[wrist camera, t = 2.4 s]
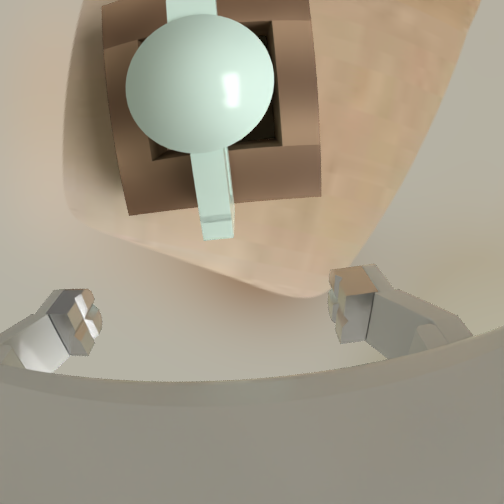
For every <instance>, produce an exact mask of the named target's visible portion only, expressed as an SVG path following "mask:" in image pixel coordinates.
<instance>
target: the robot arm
mask: <svg viewBox="0 0 504 504" xmlns="http://www.w3.org/2000/svg"><path fill="white" fill-rule="evenodd" d="M329 283H330V285H331V288H332V289H331V290H330V291H329V293H328V310H329V314H330V318H331V320H332V321H333V322H334V323H336V325H335V331H336V334H337V336H338V339H339V342H340V344H343V343H351V342H359V341H366V342H367V343H368V344H369V345H371V346H372V347H373V348H375V349H376V350H377V351H379V352H380V353H381V354H382V355H384V356H385V357H386V358H388V359H387V360H383V361H378V362H373V363H367V364H362V365H358V366H352V367H346V368H340V369H334V370H327V371H320V372H314V373H305V374H297V375H289V376H279V377H269V378H257V379H243V380H227V381H226V380H225V381H201V382H200V381H199V382H197V381H196V382H156V381H129V380H112V379H99V378H89V377H79V376H69V375H62V374H55V373H53V372H54V371H55V370H56V369H57V368H58V367H59V366H60V365H61V364H62V363H63V362H64V361H65V360H67V359H68V358H69V357H70V355H75V356H76V355H77V356H89V354H90V352H91V349H92V348H93V346H94V343H95V342H94V338H95V337H97V336H98V335H99V334H100V331H101V329H102V317H101V313H100V311H99V309H98V308H97V307H96V306H95V305H94V304H93V303H94V296H93V294H92V292H91V291H90V290H89V289H59V290H54V291H53V292H52V293H51V294H50V296H49V297H48V298H47V299H46V301H45V302H44V303H43V304H42V306H41V307H40V308H39V309H38V311H37V312H36V313H35V314H31V315H30V316H28V317H27V318H25V319H23V320H22V321H20V322H18V323H17V324H15V325H13V326H12V327H10V328H9V329H7V330H6V331H4V332H2V333H1V334H0V504H504V326H502V327H499V328H496V329H493V330H491V331H488V332H485V333H482V334H479V335H476V336H473V334H472V333H471V332H470V331H469V329H468V328H467V327H466V326H465V324H464V323H463V322H462V320H461V319H460V318H459V317H458V316H457V315H455V314H453V313H451V312H449V311H446V310H444V309H442V308H440V307H438V306H435V305H433V304H431V303H429V302H427V301H424V300H422V299H420V298H418V297H415V296H413V295H411V294H409V293H407V292H404V291H402V290H400V289H394V288H393V287H392V285H391V284H390V283H389V281H388V280H387V279H386V277H385V276H384V275H383V273H382V272H381V271H380V269H379V268H378V267H377V265H375V264H369V265H362V266H355V267H348V268H340V269H333V270H330V274H329Z"/></svg>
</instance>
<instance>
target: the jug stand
mask: <svg viewBox="0 0 504 504" xmlns="http://www.w3.org/2000/svg"><path fill="white" fill-rule="evenodd" d="M216 3H217V14H218V16H222V17H226V18H229V19H232V20H234V21H236V22H239V23H240V24H242V25H244V26H245V27H247V28H248V29H249V30H251V31H252V32H253V33H254V34H255V35H256V36H262V35H266V36H267V46H268V54H269V56H270V59H271V62H272V65H273V71H274V88H273V94H272V103H273V115H274V129H275V138H274V139H260V140H248V141H237V142H236V143H234V144H232V145H230V146H228V153H229V162H230V171H231V180H232V189H233V197H234V203H243V202H254V201H266V200H278V199H291V198H305V197H321V152H320V126H319V106H318V90H317V77H316V64H315V53H314V43H313V33H312V24H311V16H310V8H309V0H216ZM165 24H167V10H166V0H119V1H116V2H113V3H110V4H107V5H104V6H102V32H103V50H104V64H105V75H106V85H107V94H108V103H109V110H110V118H111V125H112V131H113V137H114V144H115V149H116V155H117V161H118V166H119V171H120V176H121V181H122V186H123V191H124V195H125V200H126V204H127V209H128V213H129V216H131V215H138V214H145V213H153V212H161V211H169V210H177V209H185V208H194V207H198V203H197V196H196V190H195V183H194V177H193V170H192V163H191V156H190V153H184V152H179V151H175V150H167V148H166V147H164V146H162V145H160V144H158V143H157V142H155V141H153V140H152V139H151V138H149V137H148V136H147V135H146V134H145V133H144V132H143V131H142V130H141V129H140V128H139V126H138V125H137V123H136V122H135V121H134V119H133V117H132V115H131V113H130V110H129V107H128V104H127V98H126V77H127V72H128V68H129V66H130V63H131V60H132V58H133V56H134V54H135V53H136V51H137V50H138V48H139V47H140V45H141V44H142V43H143V42H144V41H145V40H146V38H147V37H148V36H150V35H151V34H152V33H153V32H154V31H156V30H157V29H158V28H160V27H161V26H163V25H165Z"/></svg>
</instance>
